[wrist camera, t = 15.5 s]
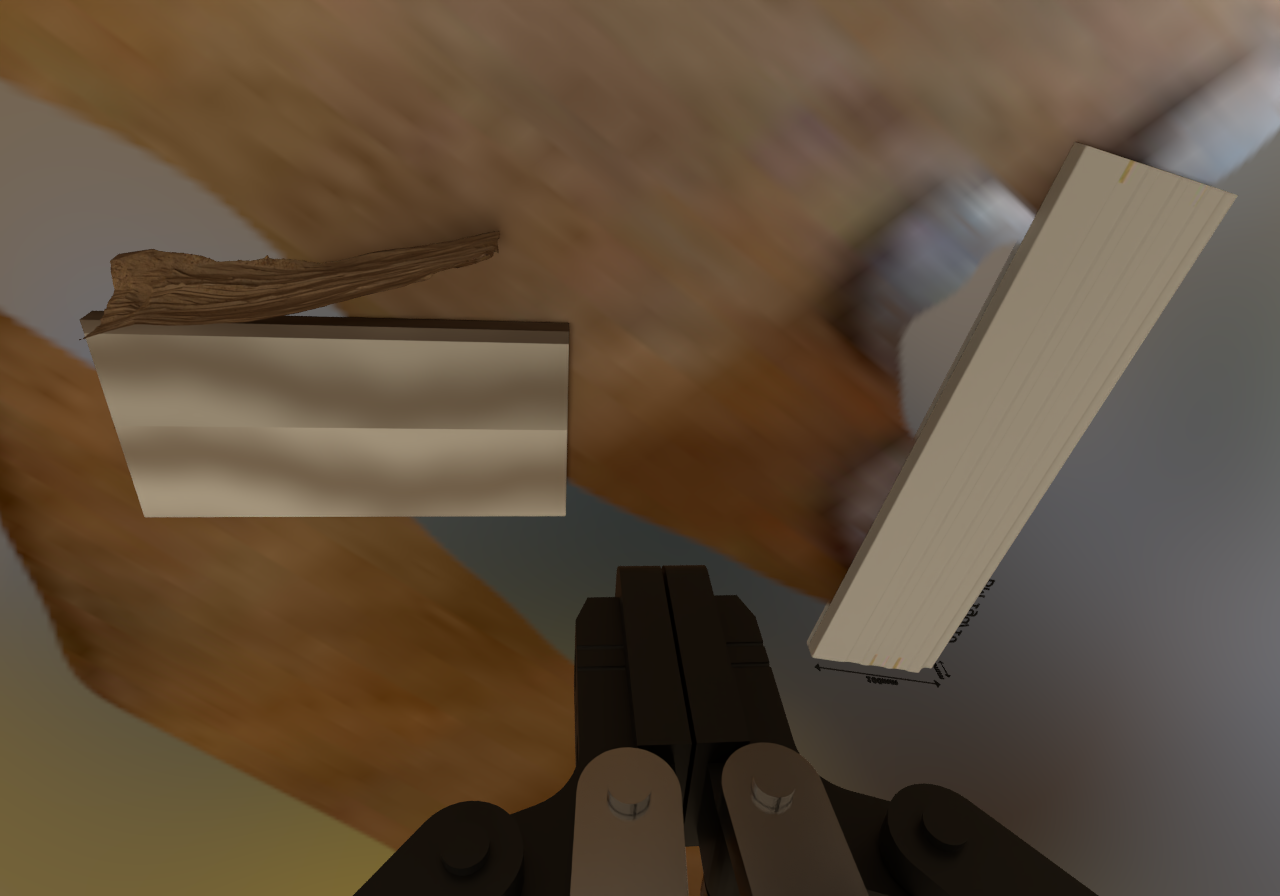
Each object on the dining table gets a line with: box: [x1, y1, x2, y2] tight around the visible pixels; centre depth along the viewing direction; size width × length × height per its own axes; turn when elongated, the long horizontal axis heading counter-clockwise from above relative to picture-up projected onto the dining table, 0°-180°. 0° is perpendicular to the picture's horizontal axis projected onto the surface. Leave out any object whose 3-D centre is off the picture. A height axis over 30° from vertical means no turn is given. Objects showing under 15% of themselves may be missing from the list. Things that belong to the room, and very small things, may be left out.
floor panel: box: [80, 311, 569, 517], centre depth 35 cm, size 10×20×1 cm, turn 86°
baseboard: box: [807, 142, 1237, 687], centre depth 40 cm, size 30×3×10 cm
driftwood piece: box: [79, 231, 499, 340], centre depth 30 cm, size 15×2×5 cm, turn 97°
